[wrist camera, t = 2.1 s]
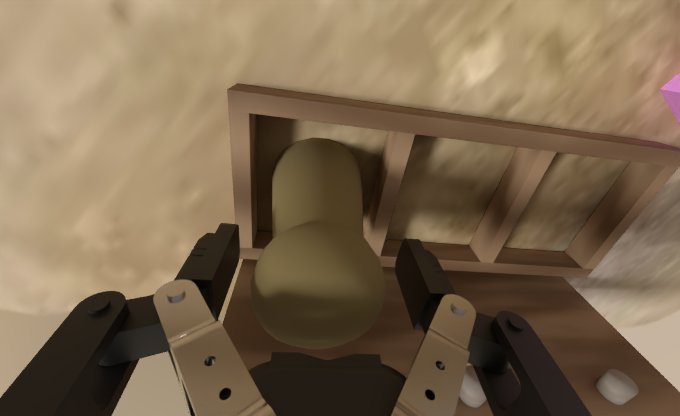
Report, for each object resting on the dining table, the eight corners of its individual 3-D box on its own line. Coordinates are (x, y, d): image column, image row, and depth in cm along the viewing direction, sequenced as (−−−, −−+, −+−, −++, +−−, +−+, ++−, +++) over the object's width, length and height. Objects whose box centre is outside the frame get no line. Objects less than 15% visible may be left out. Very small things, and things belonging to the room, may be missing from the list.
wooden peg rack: (237, 83, 15) (83, 178, 5) (657, 142, 19) (1041, 262, 9) (245, 273, 23) (188, 466, 13) (547, 288, 27) (689, 444, 17)
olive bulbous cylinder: (342, 122, 17) (376, 230, 8) (372, 201, 20) (423, 345, 11) (254, 159, 18) (187, 297, 8) (296, 229, 21) (282, 386, 12)
